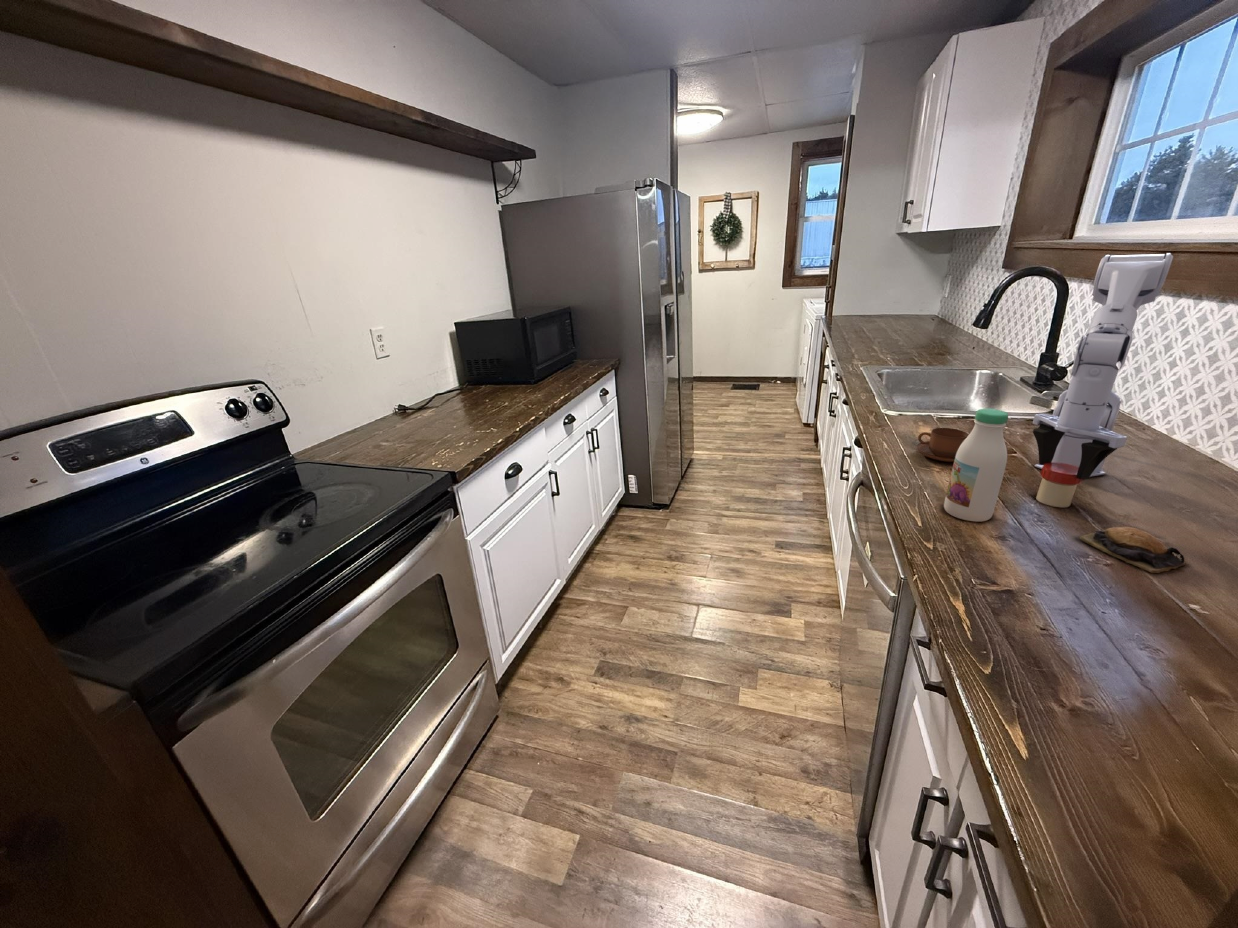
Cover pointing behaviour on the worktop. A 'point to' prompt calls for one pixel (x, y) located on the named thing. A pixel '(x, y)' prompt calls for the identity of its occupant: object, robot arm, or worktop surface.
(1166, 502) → the worktop surface
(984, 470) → the milk bottle
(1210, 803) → the worktop surface
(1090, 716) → the worktop surface
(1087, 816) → the worktop surface
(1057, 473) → the honey lid
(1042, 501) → the honey jar
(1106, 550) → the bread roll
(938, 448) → the cup and saucer
